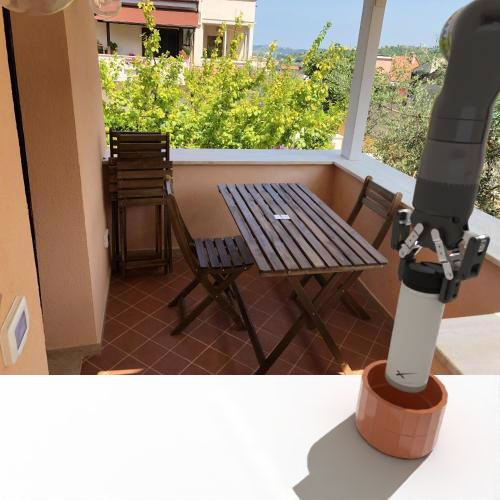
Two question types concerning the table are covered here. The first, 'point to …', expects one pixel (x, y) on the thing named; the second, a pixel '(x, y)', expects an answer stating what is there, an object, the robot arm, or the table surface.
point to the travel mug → (415, 326)
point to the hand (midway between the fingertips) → (424, 290)
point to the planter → (399, 414)
